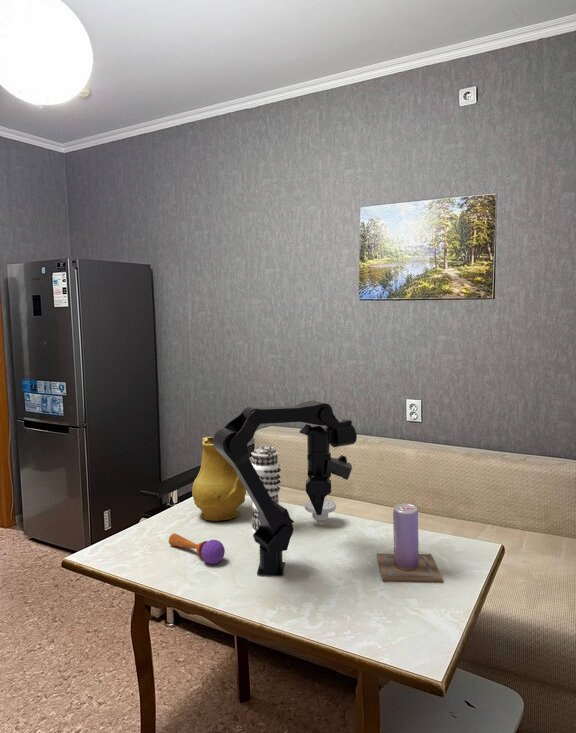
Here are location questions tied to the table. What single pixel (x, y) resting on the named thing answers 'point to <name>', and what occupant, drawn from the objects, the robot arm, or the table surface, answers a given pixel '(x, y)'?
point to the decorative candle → (266, 476)
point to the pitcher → (217, 486)
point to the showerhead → (327, 508)
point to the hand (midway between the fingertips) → (319, 508)
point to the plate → (422, 573)
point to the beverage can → (405, 536)
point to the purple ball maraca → (201, 548)
